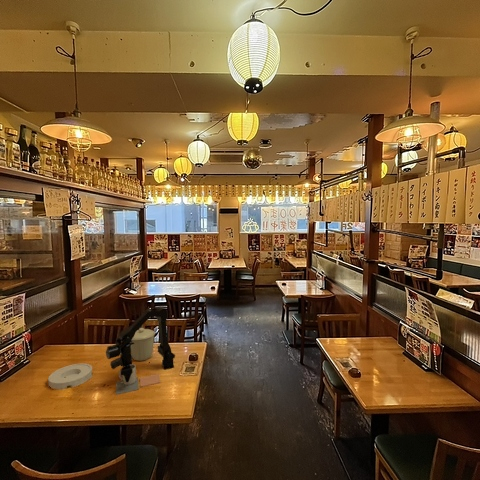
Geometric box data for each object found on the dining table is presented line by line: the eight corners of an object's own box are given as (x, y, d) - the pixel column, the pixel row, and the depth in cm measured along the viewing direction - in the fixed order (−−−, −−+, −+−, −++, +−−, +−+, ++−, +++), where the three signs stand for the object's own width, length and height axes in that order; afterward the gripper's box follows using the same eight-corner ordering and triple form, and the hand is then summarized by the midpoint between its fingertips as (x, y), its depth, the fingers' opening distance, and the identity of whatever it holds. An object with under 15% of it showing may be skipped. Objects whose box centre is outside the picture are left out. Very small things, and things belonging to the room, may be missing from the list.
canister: (148, 349, 213) (146, 321, 212) (160, 356, 200) (159, 327, 199) (124, 357, 200) (122, 328, 199) (136, 366, 187) (134, 335, 186)
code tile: (138, 377, 174) (138, 376, 174) (138, 389, 161) (138, 389, 161) (116, 381, 169) (116, 381, 169) (115, 394, 156) (115, 394, 156)
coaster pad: (158, 374, 176) (158, 373, 176) (160, 382, 167) (160, 382, 167) (139, 378, 172) (139, 377, 172) (140, 387, 163) (140, 386, 163)
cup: (132, 385, 164) (132, 370, 164) (116, 385, 165) (115, 370, 165) (138, 378, 171) (137, 364, 171) (122, 378, 172) (121, 364, 172)
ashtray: (74, 367, 189) (73, 361, 189) (101, 372, 182) (100, 366, 181) (39, 386, 168) (38, 379, 167) (68, 393, 160) (67, 386, 160)
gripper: (111, 349, 172) (113, 374, 173) (110, 363, 155) (111, 390, 156) (131, 345, 177) (132, 370, 177) (131, 358, 159) (133, 385, 160)
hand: (127, 378), depth 168 cm, fingers closed on cup, 7 cm apart
